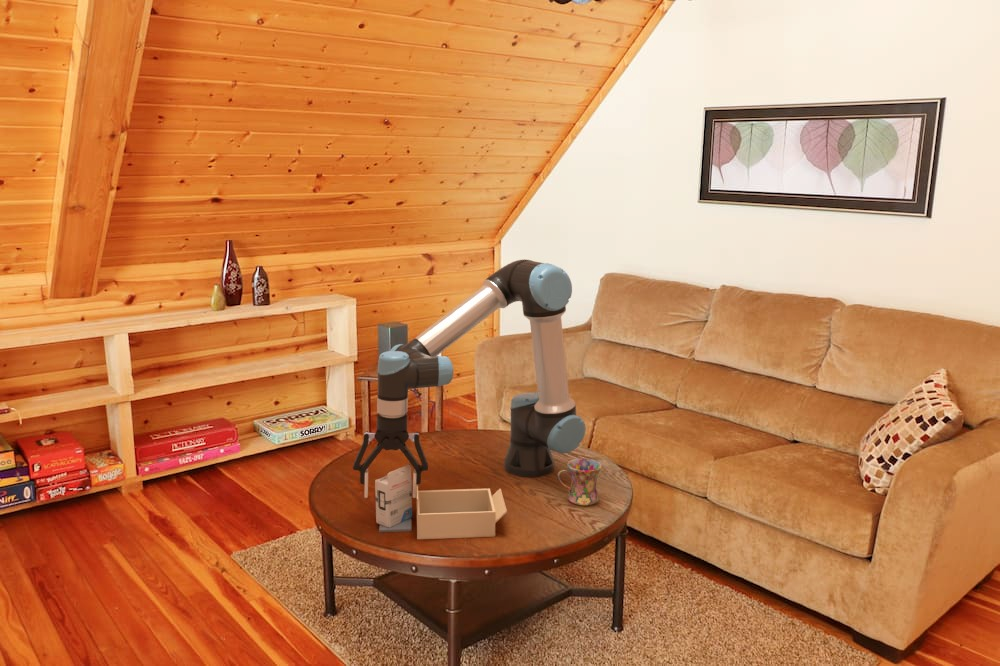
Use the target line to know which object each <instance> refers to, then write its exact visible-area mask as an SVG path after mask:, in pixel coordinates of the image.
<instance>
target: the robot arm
mask: <svg viewBox="0 0 1000 666" xmlns="http://www.w3.org/2000/svg"><path fill="white" fill-rule="evenodd" d="M572 294H573V284H572V281H571V278H570V276H569V274H568V273H567V272H566V271H565V270H564V269H563V268H561V267H559V266H556V265H555V264H552V263H548V262H547V263H545V262H538V261H534V260H530V259H518V260H515V261H512V262H510V263H508V264H506V265H504V266H502V267H501V268H499V269H498V270H496V271H495V272H493V273H492V274H491V275H490V276H488V277H487V278H485V279H484V280H483V281H482V286H480V288H479V289H477V290H476V291H474V292H473V293H472V294H471V295H469V296H468V297H466V298H465V299H464V300H463V301H462V302H460V303H459V304H457V305H456V306H455V307H454V308H453V309H451V310H450V311H448V312H447V313H446V314H445V315H443V316H442V317H440V318H439V319H438V320H436V321H435V322H434V323H433V324H431V325H430V326H428V327H427V328H426V329H425V330H424V331H422V332H421V333H420V334H418V335H417V336H416V337H415V338H413V339H412V340H411V341H409V342H407V343H399V344H396V345H394V346H392V348H391V349H390V350H387V351H384V352H382V353H380V354H379V357H378V360H377V361H378V362H377V371H376V372H377V398H376V404H377V405H376V412H377V415H376V431H375V432H370V431H366V430H365V432H364V434H363V441H362V443H361V445H360V448H359V451H358V453H357V455H356V458H355V460H354V462H353V467H352V469H353V471H358V472H359V473H360V474H359V475H360V476H359V483H360V485H364V496H363V497H364V498H365V499H368V497H369V496H368V495H369V467H370V466H371V464H372V463H373V462H374V460H375V459H376V458H377V456H378V455H379V454H380V453H381V452H382V451H383V450H384V451H390V450H392V451H398V450H400V452H401V453H402V454H403V455H404V457H406V459H407V460H408V461H409V464H410V465H411V467H412V468H413V470H412V471H413V473H412V474H413V477H412V499H415V498H416V499H417V497H416V495H417V490H416V484H418V485H420V484H421V482H422V472H424V471H425V472H427V471H428V470H429V464H428V461H427V458H426V454H425V453H424V450H423V448H422V444H421V442H420V434H419V432H418V431H415V432H412V433H411V432H410V433H409V431H408V414H407V413H408V405H409V403H408V401H409V390H414V389H425V388H433V387H434V388H435V387H436V388H439V387H443V386H446V385H449V384H450V383H451V382H452V381H453V378H454V365H453V362H452V361H451V359H450V358H449V357H448V356H445V355H443V356H441V355H440V354H441V353H443V352H444V351H446V349H448V348H450V346H452V345H453V344H454V343H456V342H457V341H458V340H459V339H461V338H462V337H463V336H465V335H466V334H468V332H470V331H471V330H472V329H474V328H475V327H476V326H477V325H479V324H480V323H481V322H483V321H484V320H485V319H487V318H488V317H489V316H490V315H492V314H493V313H494V312H495V311H497V310H498V309H506V308H507V307H508V306H510V305H511V304H513V303H516V302H521V305H522V312H523V316H524V317H525V318H527V319H528V320H529V325H530V333H531V335H530V336H531V342H532V350H533V359H534V361H533V362H534V369H535V378H536V386H537V392H525V393H519V394H516V395H514V396H513V397H512V399H511V403H510V435H509V437H510V439H509V440H510V442H509V446H508V449H507V452H506V454H505V458H504V461H503V468H504V471H506V472H507V473H509V474H510V475H512V476H513V475H514V476H516V477H517V476H518V477H525V478H538V477H544V476H547V475H549V474H551V473H553V472H554V471H555V460H554V455H553V453H552V452H556V453H558V454H568V453H571V452H573V451H574V450H576V449H577V448H578V447H579V446H581V445H580V444H581V442H583V440H584V438H585V435H586V430H587V429H586V423H585V420H584V419H583V418H582V417H581V416H579V415H577V408H576V401H575V399H573V398H572V397H570V392H569V391H570V389H569V382H568V381H569V380H568V372H567V361H566V353H565V344H564V332H563V323H562V316H563V315H564V314H565V313H566V312H567V309H566V306H567V305H568V304H569V302H570V300H569V299H571V298H572ZM373 439H375V441H376V442H377V444H376V445H375V447H374V449H373V450H372V451H371V452H370V454H369V455H368V456H367V458H366V459H365V460H364V462H363V463H362V464H361V462H362V460H363V457H364V455H365V454H366V451H367V448H368V446H369V443H370V442H372V441H373ZM409 439H410V441H411V442H412V443H414V447H415V450H416V452H417V453H416V454H417V456H418V458H419V461H420V463H421V464H420V463H419V461H418V460H417V459H416V458H415V456H414V455H413V453H412V452H411V450H410V448H408V446H407V444H406V442H407V441H408V440H409Z"/></svg>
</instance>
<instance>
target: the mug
mask: <svg viewBox="0 0 1000 666" xmlns="http://www.w3.org/2000/svg"><path fill="white" fill-rule="evenodd" d="M566 465H567V469H568V470H566V469H561V470H559V471H558V473H557V479H558V481H559V483H561V485H562V486H563V487H565V488H567V489H568V490H567V492H568V494H567V499H568V501H569V502H571V503H572V504H575V505H579V506H592V505H594V504H596V503H598V502H599V500H600V499H599V498H600V497H599V496H598V491H597V481H598V480H597V479H598V477H599V473H600V471H601V469H602V467H603V466H602V464H601V463H600V462H599V461H597V460H595V459H592V458H591V459H590V458H574V459H571V460H569V461H568V462H567V464H566ZM564 472H565V473H567V474H568V476H569V478H570V479H571V480H570V481H571V483H570V484H571V486H568V485H567V484H565V482H563V481H562V480H561V478H560V474H562V473H564Z"/></svg>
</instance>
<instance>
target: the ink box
mask: <svg viewBox="0 0 1000 666" xmlns="http://www.w3.org/2000/svg"><path fill="white" fill-rule="evenodd" d="M411 467H412V465H411V463H409V464H407V465H404V466H402V467H399V468H396V469H395V470H392V471H389V472H388V473H387V475H385V476H382V477H380V478H378V479H375V480H374V488H375V489H374V491H375V495H374V496H375V518H376V524H378V525H380V524H381V525H383V526H386V527H389V528H390V527H392V526H394V525H396V524H398V523H400V522H403V521H405V520H407V519H409V518H411V519H412V518H413V502H412V501H413V477H412V468H411Z"/></svg>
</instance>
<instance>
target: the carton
mask: <svg viewBox="0 0 1000 666" xmlns="http://www.w3.org/2000/svg"><path fill="white" fill-rule="evenodd" d="M502 492H503V491H502V488H499V489H498V490H496V491H495V493H494V494H492V492H491V488H466V489H465V488H463V489H461V488H460V489H456V488H455V489H430V490H427V489H426V490H419V484H416V539H417V540H434V539H460V538H461V539H462V538H463V539H464V538H486V537H487V538H489V537H490V538H491V537H496V523H497V522H499V520H500V519H502V518H503V516H505V515H506V514H507V513H508V509H507V506H506V502H505V499H504V496H503V493H502Z"/></svg>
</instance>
